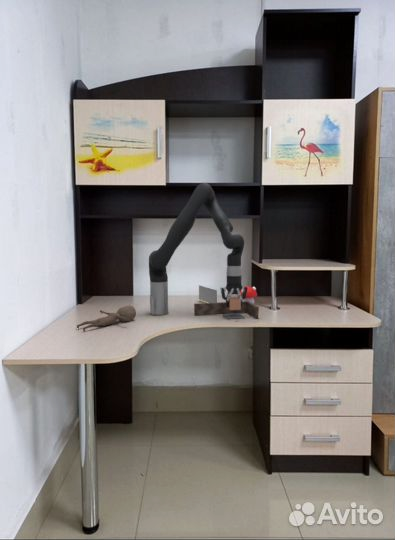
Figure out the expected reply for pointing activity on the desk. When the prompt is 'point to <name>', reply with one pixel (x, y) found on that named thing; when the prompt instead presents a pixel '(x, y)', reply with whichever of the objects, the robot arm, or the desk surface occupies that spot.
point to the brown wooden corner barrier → (225, 309)
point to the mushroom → (249, 294)
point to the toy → (112, 317)
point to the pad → (233, 316)
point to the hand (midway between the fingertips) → (233, 307)
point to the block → (234, 303)
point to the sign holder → (207, 295)
